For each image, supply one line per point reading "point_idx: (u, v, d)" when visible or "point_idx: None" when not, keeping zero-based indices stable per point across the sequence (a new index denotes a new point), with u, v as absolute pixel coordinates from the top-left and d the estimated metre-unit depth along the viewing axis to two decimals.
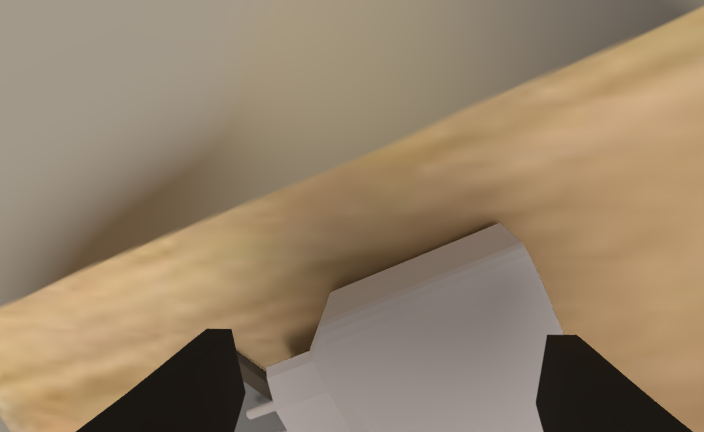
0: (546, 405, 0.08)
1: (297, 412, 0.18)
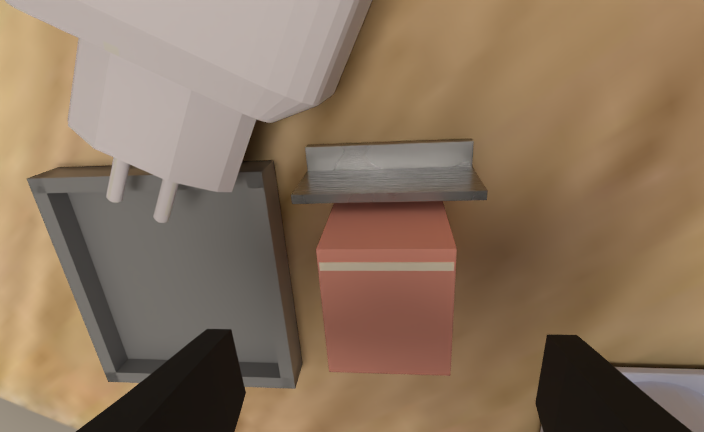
0: (546, 405, 0.08)
1: (113, 126, 0.12)
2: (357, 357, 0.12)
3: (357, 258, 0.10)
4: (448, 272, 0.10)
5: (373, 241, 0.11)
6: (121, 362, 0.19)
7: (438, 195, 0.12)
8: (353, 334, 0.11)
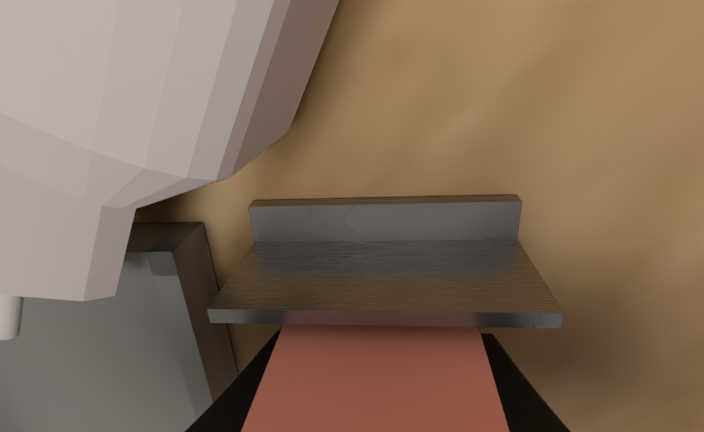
0: None
1: None
2: None
3: None
4: None
5: None
6: None
7: (472, 317, 0.06)
8: None
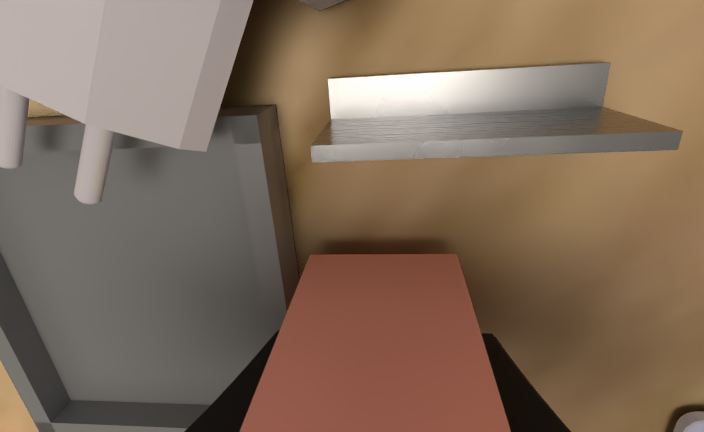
0: None
1: None
2: None
3: None
4: None
5: None
6: (59, 407, 0.13)
7: (587, 141, 0.06)
8: None
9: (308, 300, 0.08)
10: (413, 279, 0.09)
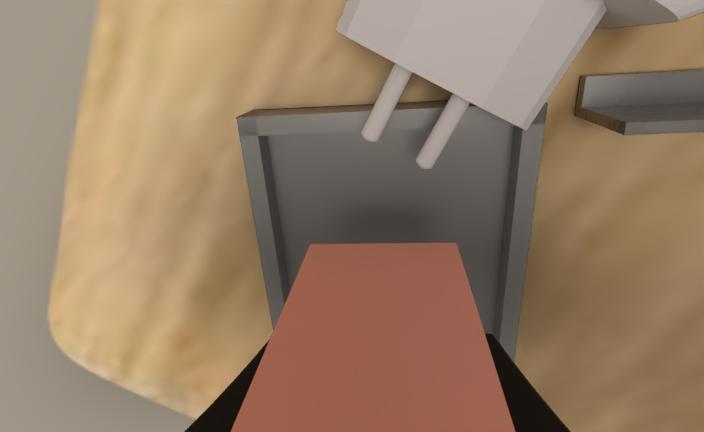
0: None
1: (429, 31, 0.09)
2: None
3: None
4: None
5: (347, 422, 0.05)
6: None
7: None
8: None
9: (308, 286, 0.08)
10: (412, 266, 0.09)
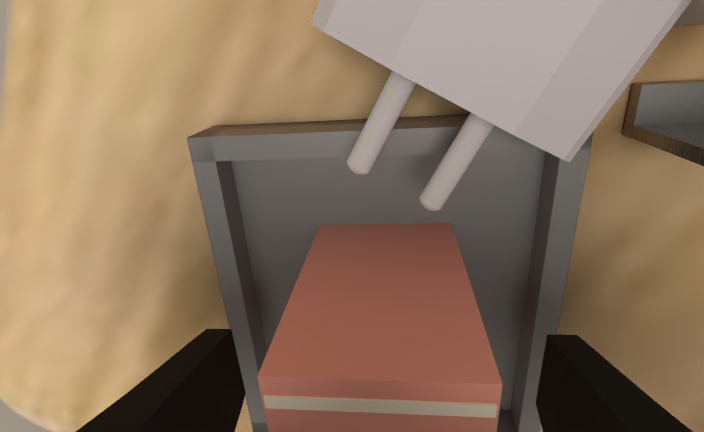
0: (546, 405, 0.08)
1: (443, 25, 0.06)
2: None
3: (328, 390, 0.06)
4: (485, 418, 0.06)
5: (357, 357, 0.06)
6: None
7: None
8: None
9: (320, 259, 0.09)
10: (412, 242, 0.10)
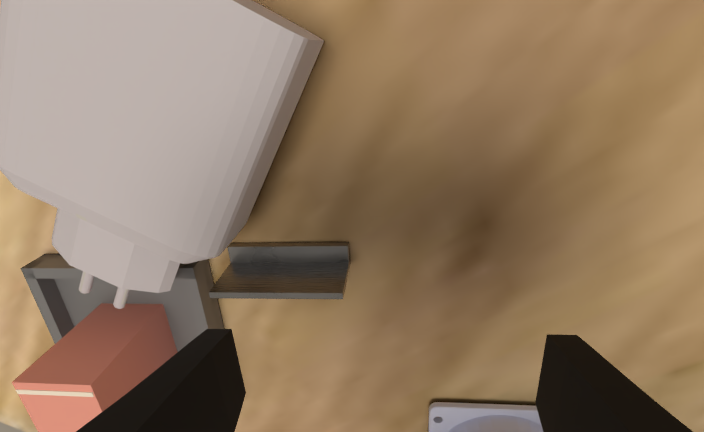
0: (546, 405, 0.08)
1: (83, 253, 0.17)
2: None
3: (37, 387, 0.16)
4: (92, 397, 0.16)
5: (52, 375, 0.17)
6: None
7: (310, 295, 0.17)
8: (53, 430, 0.17)
9: (81, 326, 0.20)
10: (131, 317, 0.20)
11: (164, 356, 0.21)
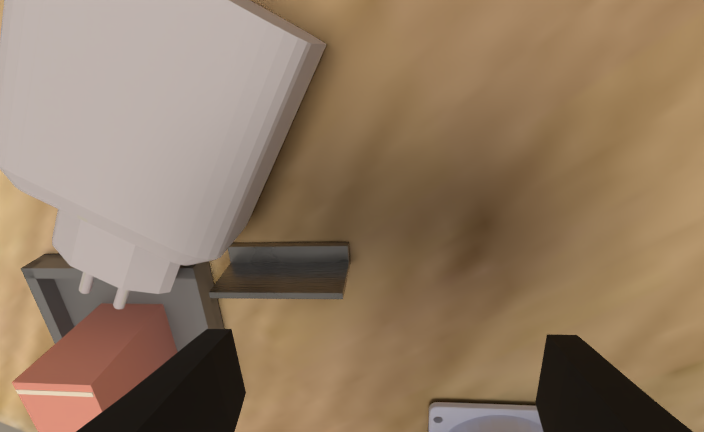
0: (546, 405, 0.08)
1: (83, 253, 0.17)
2: None
3: (37, 387, 0.16)
4: (92, 397, 0.16)
5: (52, 375, 0.17)
6: None
7: (310, 295, 0.17)
8: (53, 430, 0.17)
9: (81, 326, 0.20)
10: (131, 317, 0.20)
11: (164, 356, 0.21)
